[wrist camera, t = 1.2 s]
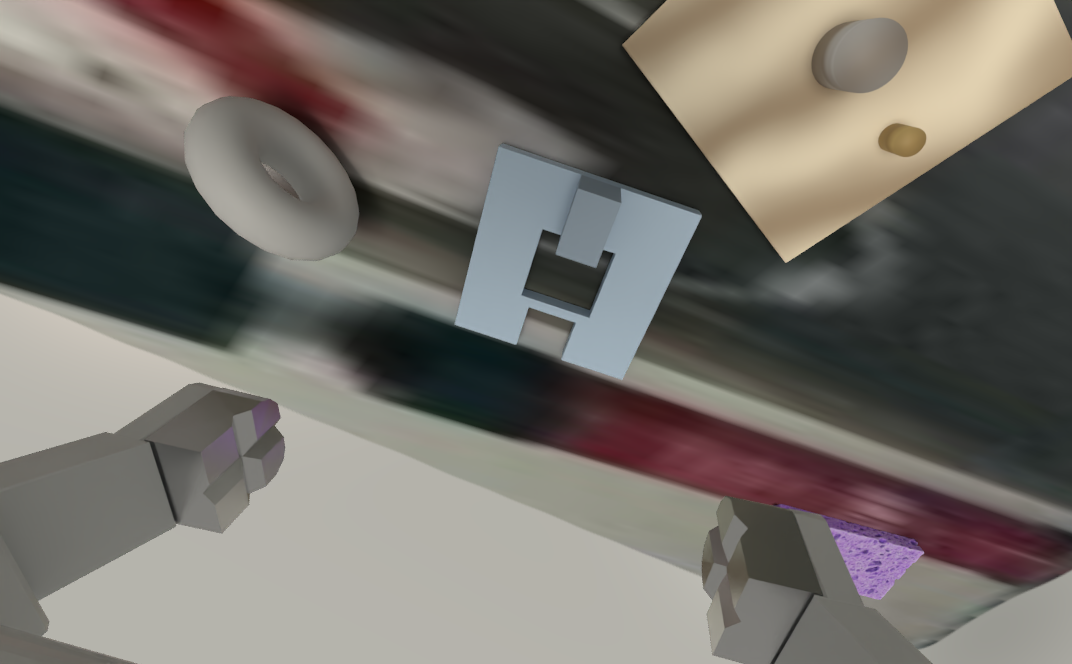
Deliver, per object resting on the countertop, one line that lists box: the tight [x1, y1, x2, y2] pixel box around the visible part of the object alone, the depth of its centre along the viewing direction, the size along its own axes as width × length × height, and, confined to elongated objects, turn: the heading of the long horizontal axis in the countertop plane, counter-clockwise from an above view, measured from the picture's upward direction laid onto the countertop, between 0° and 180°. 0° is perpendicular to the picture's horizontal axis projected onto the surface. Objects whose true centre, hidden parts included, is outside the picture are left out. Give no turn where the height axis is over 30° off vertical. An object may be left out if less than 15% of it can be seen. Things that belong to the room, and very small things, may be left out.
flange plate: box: [455, 143, 702, 380], centre depth 32 cm, size 13×13×5 cm
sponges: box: [776, 504, 924, 600], centre depth 43 cm, size 7×13×2 cm, turn 78°
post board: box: [622, 0, 1072, 263], centre depth 24 cm, size 16×16×4 cm
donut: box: [184, 96, 359, 261], centre depth 29 cm, size 10×4×10 cm, turn 34°
